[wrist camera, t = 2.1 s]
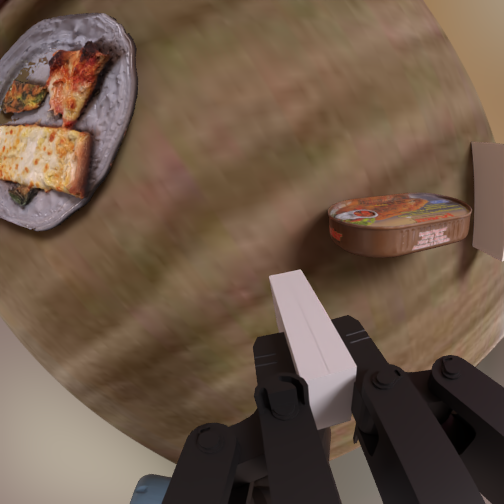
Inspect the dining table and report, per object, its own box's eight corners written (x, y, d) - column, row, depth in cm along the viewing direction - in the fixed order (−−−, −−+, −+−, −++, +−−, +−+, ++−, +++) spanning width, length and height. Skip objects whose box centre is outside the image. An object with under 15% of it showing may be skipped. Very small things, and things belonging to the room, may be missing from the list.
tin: (434, 190, 25) (488, 205, 17) (434, 217, 26) (485, 238, 18) (314, 203, 24) (352, 224, 16) (317, 235, 25) (353, 269, 18)
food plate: (181, 24, 18) (173, 7, 14) (107, 249, 24) (91, 262, 21) (19, 30, 14) (4, 24, 10) (-26, 195, 21) (-42, 200, 17)
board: (481, 243, 28) (510, 257, 22) (472, 246, 28) (501, 261, 22) (481, 142, 23) (514, 145, 17) (471, 141, 23) (505, 144, 17)
